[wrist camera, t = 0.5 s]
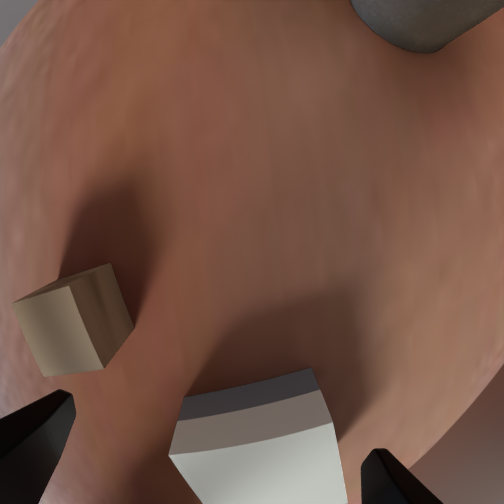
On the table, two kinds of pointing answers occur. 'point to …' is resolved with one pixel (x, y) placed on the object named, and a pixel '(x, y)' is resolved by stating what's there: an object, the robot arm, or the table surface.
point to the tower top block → (262, 454)
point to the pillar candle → (423, 20)
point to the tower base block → (249, 395)
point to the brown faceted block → (75, 322)
